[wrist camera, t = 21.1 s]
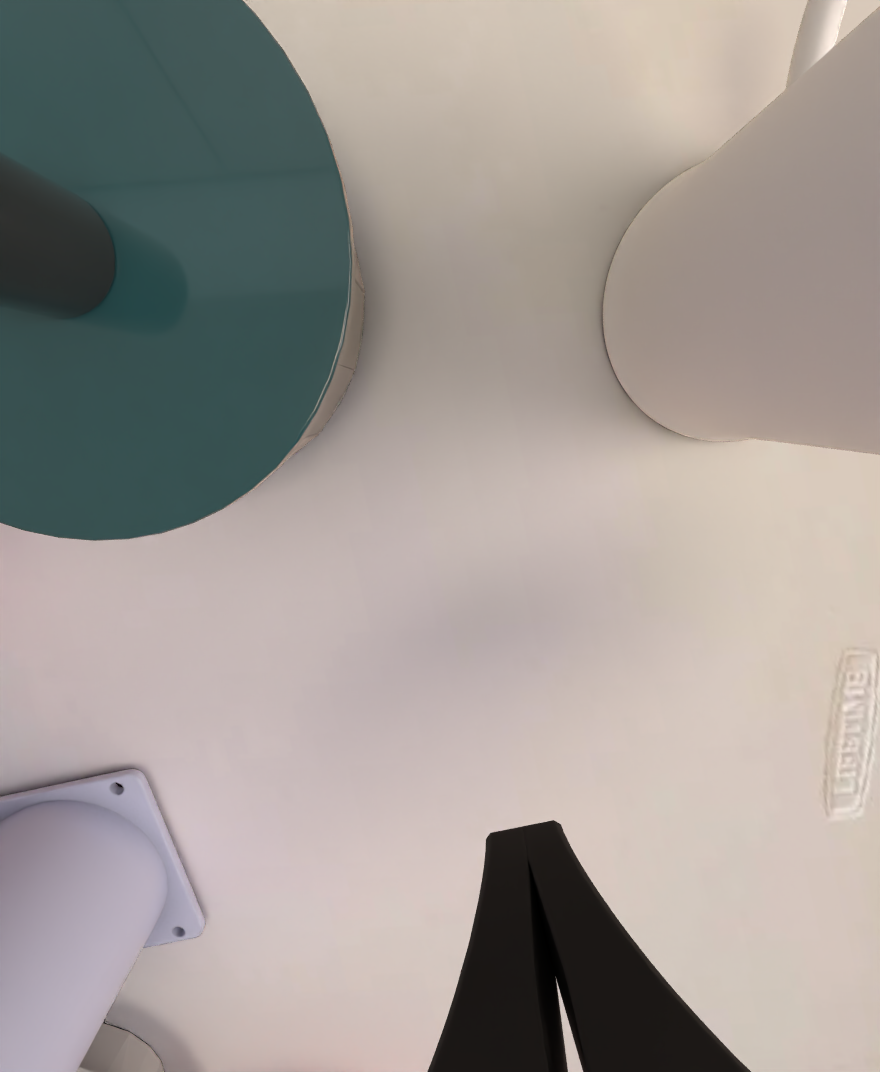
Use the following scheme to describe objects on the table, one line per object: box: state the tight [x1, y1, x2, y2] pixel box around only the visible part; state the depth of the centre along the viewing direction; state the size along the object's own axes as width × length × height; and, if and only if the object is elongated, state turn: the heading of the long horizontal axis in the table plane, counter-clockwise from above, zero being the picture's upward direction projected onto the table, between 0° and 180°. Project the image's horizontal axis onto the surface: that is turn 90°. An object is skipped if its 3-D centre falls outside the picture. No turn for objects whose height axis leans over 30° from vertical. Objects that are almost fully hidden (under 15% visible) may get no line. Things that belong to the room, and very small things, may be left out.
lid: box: [0, 0, 356, 541], centre depth 11 cm, size 13×13×5 cm
